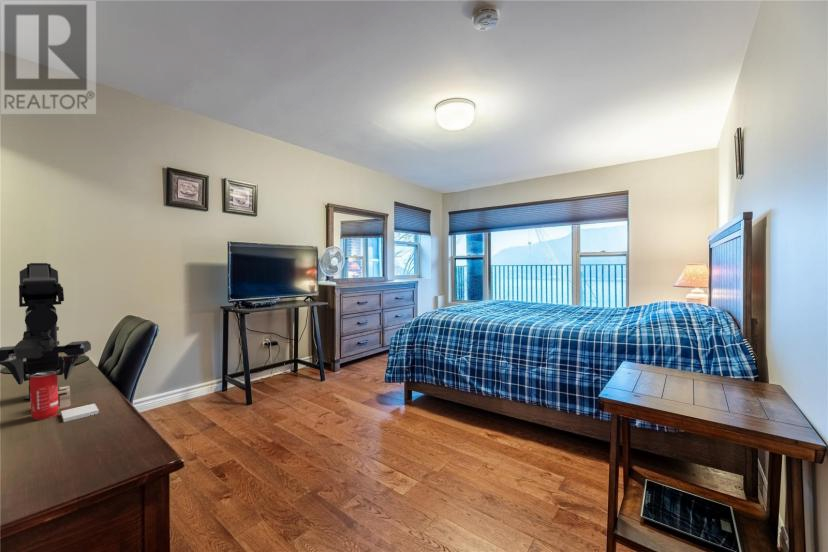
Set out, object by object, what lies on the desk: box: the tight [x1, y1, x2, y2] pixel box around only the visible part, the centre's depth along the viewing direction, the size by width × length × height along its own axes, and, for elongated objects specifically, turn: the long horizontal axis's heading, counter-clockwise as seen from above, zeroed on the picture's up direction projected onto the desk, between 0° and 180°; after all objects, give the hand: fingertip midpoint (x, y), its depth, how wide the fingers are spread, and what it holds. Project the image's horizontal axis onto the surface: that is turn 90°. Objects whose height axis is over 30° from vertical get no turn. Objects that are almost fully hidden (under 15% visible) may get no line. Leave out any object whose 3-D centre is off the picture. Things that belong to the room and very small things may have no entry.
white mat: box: [60, 403, 100, 423], centre depth 97 cm, size 7×7×1 cm
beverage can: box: [29, 371, 60, 421], centre depth 96 cm, size 5×5×12 cm
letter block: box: [58, 385, 71, 410], centre depth 103 cm, size 5×5×5 cm
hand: (44, 381), depth 96 cm, fingers open, 9 cm apart
